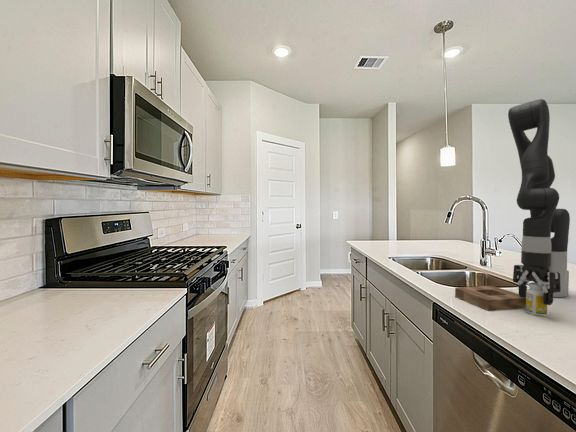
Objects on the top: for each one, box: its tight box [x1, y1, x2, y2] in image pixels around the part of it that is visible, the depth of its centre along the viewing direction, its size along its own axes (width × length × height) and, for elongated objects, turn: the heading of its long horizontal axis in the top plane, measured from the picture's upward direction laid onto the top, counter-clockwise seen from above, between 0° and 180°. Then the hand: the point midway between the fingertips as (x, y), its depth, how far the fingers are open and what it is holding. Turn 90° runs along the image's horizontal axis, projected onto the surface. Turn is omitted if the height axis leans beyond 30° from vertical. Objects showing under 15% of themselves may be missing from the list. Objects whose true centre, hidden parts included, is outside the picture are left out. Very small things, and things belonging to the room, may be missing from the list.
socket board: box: [454, 285, 526, 312], centre depth 114 cm, size 16×16×4 cm
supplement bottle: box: [525, 281, 548, 317], centre depth 101 cm, size 5×5×10 cm
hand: (534, 300), depth 102 cm, fingers open, 8 cm apart
